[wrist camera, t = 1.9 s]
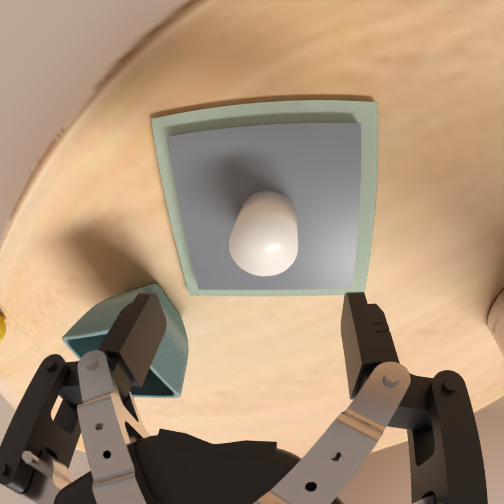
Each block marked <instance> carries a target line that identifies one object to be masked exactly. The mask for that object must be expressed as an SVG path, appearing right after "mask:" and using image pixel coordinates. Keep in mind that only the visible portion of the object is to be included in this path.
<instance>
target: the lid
mask: <svg viewBox="0 0 504 504" xmlns="http://www.w3.org/2000/svg"><path fill="white" fill-rule="evenodd" d="M167 143H168V149H169V154H170V160H171V166H172V171H173V177H174V182H175V187H176V192H177V197H178V202H179V207H180V212H181V217H182V221H183V226H184V231H185V235H186V240H187V244H188V249H189V253H190V257H191V261H192V266H193V270H194V274H195V278H196V282H197V286H198V290H301V289H341V288H352V283H353V275H354V267H355V257H356V247H357V236H358V223H359V207H360V186H361V123H358V122H283V123H266V124H252V125H241V126H231V127H222V128H213V129H206V130H199V131H192V132H185V133H179V134H173V135H170V136H167Z"/></svg>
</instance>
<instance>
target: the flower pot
mask: <svg viewBox="0 0 504 504" xmlns="http://www.w3.org/2000/svg"><path fill="white" fill-rule="evenodd" d="M140 292H146V293H156V294H157V295H158V298H159V301H160V303H161V306H162V309H163V312H164V314H165V317H166V321H167V327H166V331H165V334H164V336H163V338H162V340H161V343H160V345H159V347H158V350H157V352H156V354H155V357H154V359H153V362H152V364H151V366H150V369H149V371H148V373H147V376H146V378H145V381H144V383H143V386H142V388H141V387H136V386H132V387H131V390H130V392H131V393H132V395H133V397H150V398H151V397H152V398H178V397H181V392H182V387H183V382H184V376H185V371H186V365H187V359H188V340H187V334H186V330H185V327H184V324H183V321H182V318H181V317H180V315H179V314H178V312H177V311H176V310H175V308H174V307H173V305H172V304H171V302H170V301H169V299H168V298H167V296H166V295H165V293H164V292H163V290H162V289H161V287H160V286H159V285H158V284H151V285H148V286H144V287H141V288H138V289H134V290H131V291H127V292H124V293H121V294H118V295H115V296H112V297H110V298H108V299H105V300H104V301H102V302H100V303H98V304H97V305H95V306H94V307H92V308H91V309H90V310H89V311H88V312H87V313H86V314H85V315H84V316H83V317H82V318H81V319H80V320H79V321H78V322H77V323H76V324H75V325H74V326H73V327H72V328H71V329H70V330H69V331H68V332H67V333H66V334H65V335H64V336H63V337H62V339H63V341H64V342H65V344H66V345H67V346H68V347H69V348H70V350H71V351H72V352H73V353H74V354H75V355H76V356H77V357H78V358H79V359H81V357H82V356H83V355H84V354H86V353H87V352H90V351H93V350H98V348H99V346H100V345H101V343H102V341H103V340H104V338H105V336H106V335H107V333H108V331H109V330H110V328H111V327H112V326H113V323H114V321H115V320H117V319H116V318H117V316H118V315H119V313H120V312H121V310H122V309H123V308H124V307H126V306H127V305H128V304H129V303H132V302H133V301H134V299H135V298H136V296H137V294H138V293H140Z"/></svg>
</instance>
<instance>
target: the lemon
mask: <svg viewBox="0 0 504 504" xmlns="http://www.w3.org/2000/svg"><path fill="white" fill-rule="evenodd" d="M5 332H6V325H5V322H4V316H3V315H0V341H1V340H2V339H3V337H4V335H5Z"/></svg>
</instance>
